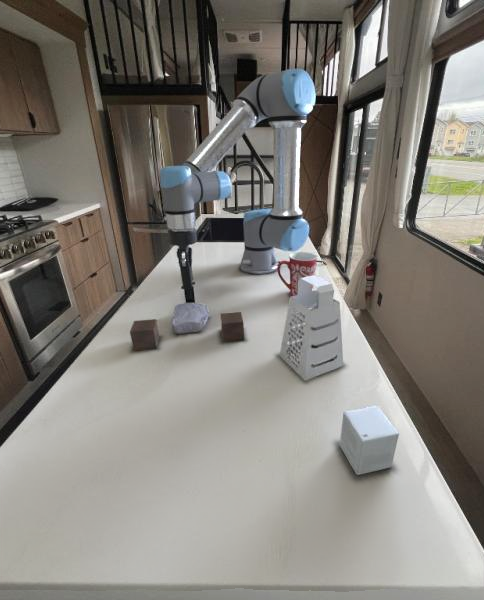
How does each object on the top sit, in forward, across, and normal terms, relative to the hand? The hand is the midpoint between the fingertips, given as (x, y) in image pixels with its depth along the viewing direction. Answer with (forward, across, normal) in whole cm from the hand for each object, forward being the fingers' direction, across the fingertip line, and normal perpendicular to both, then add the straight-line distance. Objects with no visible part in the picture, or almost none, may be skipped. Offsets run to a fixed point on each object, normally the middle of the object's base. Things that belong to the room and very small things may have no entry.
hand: (191, 306), depth 97 cm
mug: (+2, -7, +34) cm, 35 cm away
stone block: (+2, +6, 0) cm, 7 cm away
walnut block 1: (+2, +15, -11) cm, 19 cm away
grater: (+2, +29, +28) cm, 41 cm away
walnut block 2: (+2, +15, +11) cm, 19 cm away
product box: (+2, +55, +30) cm, 63 cm away
